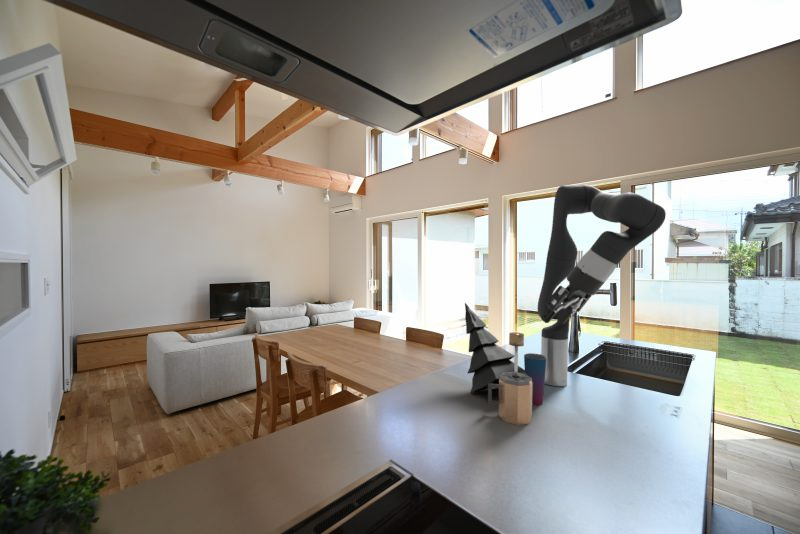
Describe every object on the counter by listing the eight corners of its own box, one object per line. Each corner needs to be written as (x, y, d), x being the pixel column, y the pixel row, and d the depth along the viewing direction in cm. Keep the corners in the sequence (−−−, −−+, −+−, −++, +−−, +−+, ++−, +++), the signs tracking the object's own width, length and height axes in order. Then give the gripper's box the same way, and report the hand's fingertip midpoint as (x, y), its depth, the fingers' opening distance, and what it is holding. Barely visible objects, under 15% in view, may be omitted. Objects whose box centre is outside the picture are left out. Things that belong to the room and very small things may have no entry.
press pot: (486, 412, 101) (486, 373, 101) (520, 409, 104) (521, 371, 103) (500, 426, 93) (501, 383, 93) (537, 423, 95) (537, 381, 95)
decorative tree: (505, 397, 121) (468, 311, 138) (534, 384, 110) (490, 292, 128) (474, 405, 114) (439, 313, 131) (501, 392, 103) (460, 294, 120)
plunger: (505, 393, 100) (506, 332, 100) (517, 392, 101) (519, 332, 100) (512, 398, 96) (513, 335, 96) (525, 397, 97) (526, 335, 97)
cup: (547, 407, 106) (548, 360, 105) (524, 405, 107) (525, 358, 107) (543, 398, 112) (544, 354, 112) (521, 396, 114) (522, 352, 113)
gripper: (591, 266, 90) (554, 312, 97) (565, 259, 82) (527, 311, 88) (616, 283, 85) (575, 330, 92) (591, 278, 76) (549, 331, 83)
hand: (552, 321), depth 90 cm, fingers open, 8 cm apart
